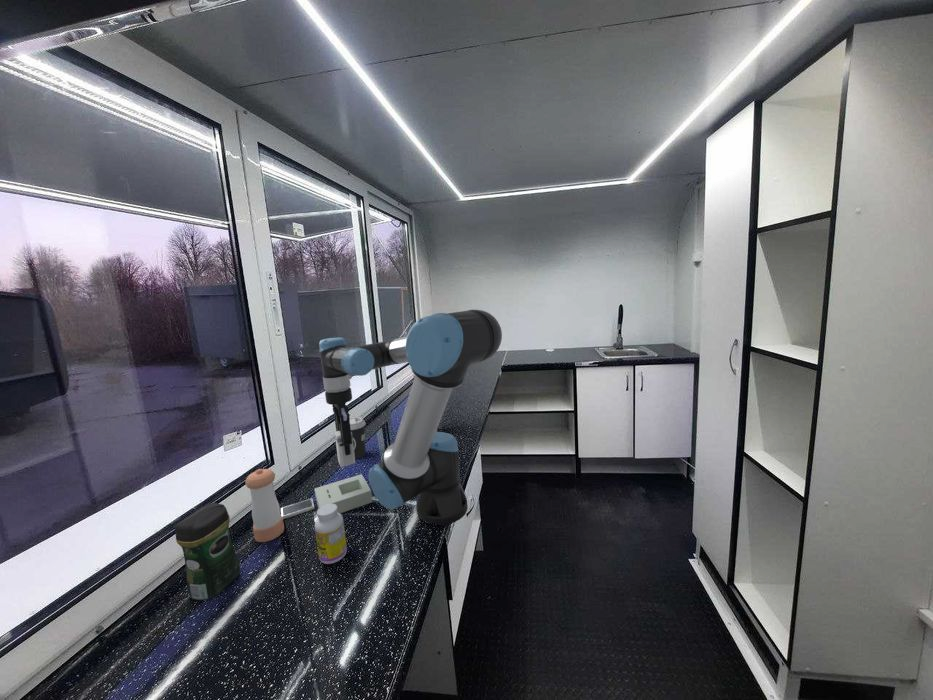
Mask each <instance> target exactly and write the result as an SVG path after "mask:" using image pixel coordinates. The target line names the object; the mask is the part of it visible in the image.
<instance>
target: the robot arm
mask: <svg viewBox="0 0 933 700" xmlns="http://www.w3.org/2000/svg"><path fill="white" fill-rule="evenodd" d="M502 339H503V332H502V327H501V326H500V323H499V322H498V320H497V318H496V317H495V316H494V315H492V314H491V313H489V312H487V311H485V310H481V309H469V310H462V311H455V312H447V313H445V312H438V313H434V314H430V315H428V316H424V317H422V318H419V319H418V320H417V321H415V323H413V325H412V326H411V327H410V329H409V331H408V333H407V336H402V337H398V338H393V339H390V340H389V339H388V340H385V341H379V342H375V343H369V344H362V345H356V346H348V345H347V341H346V339H345V338H344V337H329V338H327V337H326V338H324V339H320V341H319V351H318V353H319V356H320V357H319V358H320V363H321V371H322V381H323V382H322V383H323V388H324V390H325V392H324V395H325V402H326V404H328V405H332V412H333V415H334V416H333V417H334V424H335V432H336V431H340V434H341V440H342V444H340V446H341V447H342V455H343V463H344V465H347V464H351V463H353V457H352V448H351V444H352V437H351V428H350V418H351V417H350V416H351V415H350V413H349V407H348V406H347V403H349V402H350V401H352V399H353V395H352V388H351V379H353V378H352V376H355V377H356V376H357V377H359V376H361V377H363V376H366V375H368V374H369V373H370V372H371V371H373V370H377V369H380V368H384V367H388V366H394V365H400V364H406V363H408V364H409V366H410V369H411V372H412V374H413V376H414V378H413V382H412V385H411V387H410V392H409V395H408V397H407V401H406V404H405V407H404V411H403V414H402V417H401V421H400V423H399V426H398V429H397V433H396V436H395V438H394V439H395V440H394V441H393V442H394V443H391V444H390V445H388V447H386V449H385V452H384V453H383V458H382V461H381V462H380V463H376V464H374V465H373V466H371V467H370V469H369V470H368V481H369V485H370V486H369V487H370V489H371V492H372V493H373V495H374V496H375V498H376V500H377V501H378V502H379V503H380V504H381V506H383V507H384V508H385V509H387V510H395V509H397V508H398V507H402V506H404V505H405V504H406V503H407V502H409V501H410V500H412V499H413V498H415V497H417V500H416V504H415V506H416V507H415V509H416V516H417V515H418V516H417V518H418V517H419V518H420V519H422V520H424V521H426V522H429V523H434V524H447V525H451V524H453V523H456V522H458V521H460V520H461V519H462V518H464V516H465V515H466V514H467V512H468V509H469V507H468V498H467V495H466V494H465V491H464V488H463V487H462V484H461V478H460V476H461V475H460V474H461V472H460V460H459V459H460V458H459V455H460V454H459V447H458V440H457V438H456V437H455V436H454V435H453V434H451V433H448V432H443V431H438V428H439V425H440V422H441V420H442V417H443V415H444V412H445V409H446V407H447V404H448V402H449V398H450V397H451V394H452V391H453V389H457V388H459V387H460V386H461V385H463V383H464V381H465V378H466V375H467V372H468V369H469V367H470V366H472V365H475V364H478V363H480V362H481V363H482V362H484V361H486V360H489V359H490V358H492V357H493V356H495V354H496V353H497V351H499V348H500V346H501V344H502ZM436 430H437V432H436ZM351 465H352V464H351ZM347 466H348V465H347ZM419 518H418V519H419ZM420 519H419V520H420Z"/></svg>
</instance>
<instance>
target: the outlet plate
mask: <svg viewBox="0 0 933 700" xmlns="http://www.w3.org/2000/svg"><path fill="white" fill-rule="evenodd" d="M314 495H315V496H314V497H315V501H316V505H317V510H318V509H319V508H320V507H322V506H323V505H326V504H336V505H337V509H338V513H340V514H343V513H345V512H348V511H350V510H351V511H352V510H354V509H356V508H360V507H362V506H366V505H368V504H370V503H371V504H372V503H373V495H372V488H371V487H370V486H369V485H368V483H367V480H366V479H365V477H364V476H363V474H362V473H361V474H358V475H357V474H356V475H354V476H351V477H347V478H343V479H342V480H337V481H335V482H334V481H333V482H330V483H327V484H325V485H321V486H319V487H315V488H314Z"/></svg>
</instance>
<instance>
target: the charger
mask: <svg viewBox="0 0 933 700" xmlns="http://www.w3.org/2000/svg"><path fill="white" fill-rule="evenodd" d="M351 437H352V444H351V448H352V457H353V463H351V464H347V465H344V463H343V455H342V447H341V446H340V444H342V440H341V434H340V431H336V430H335V431H334V439H335V446H336V455H337V462H338V464H339V466H340V468H343V467H346V466H350V465H353V464H356V459H355V454H354V446H353V436H352V432H351Z"/></svg>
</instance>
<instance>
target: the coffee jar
mask: <svg viewBox="0 0 933 700" xmlns="http://www.w3.org/2000/svg"><path fill="white" fill-rule="evenodd" d="M174 532H175V541H176V543H177V544H178V545H179V546H180V547H181V549H182V552H183V557H184V563H185V564H184V565H185V574H186V584H187V585H186V586H187V592H188V596H189V597H190V598H191V599H193V600H196V601H206V600H210V599H212V598H215V597H216V596H218V595H219V594H220V593H222V592H223V591H224V590H225V589H226V588H228V587H229V585H231V584H232V583H233V582H234V580H236V579H237V578H238V576H239V575H240V573H241V564H240V562H239V560H238V556H237V554H236V551H235V548H234V544H233V541H232V537H231V534H230V515H229V511H228V509H227V507H226V506H225V505H224V504H221V503H216V502H215V503H214V502H209V503H207V505H205V506H203V507H201V508H199V509H198V510H195V512H193V513H191V514H190V515H188V516H187V517H185V518H184V519H182V520H181V521H180V522H178V523H177V524H176V525H175V527H174Z"/></svg>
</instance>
